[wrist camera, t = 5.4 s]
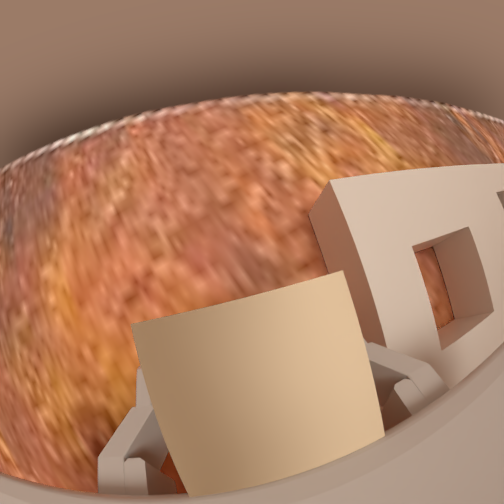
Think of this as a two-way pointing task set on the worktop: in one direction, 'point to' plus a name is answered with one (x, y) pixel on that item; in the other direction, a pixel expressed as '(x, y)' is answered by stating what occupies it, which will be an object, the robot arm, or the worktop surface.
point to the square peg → (260, 385)
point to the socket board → (406, 266)
